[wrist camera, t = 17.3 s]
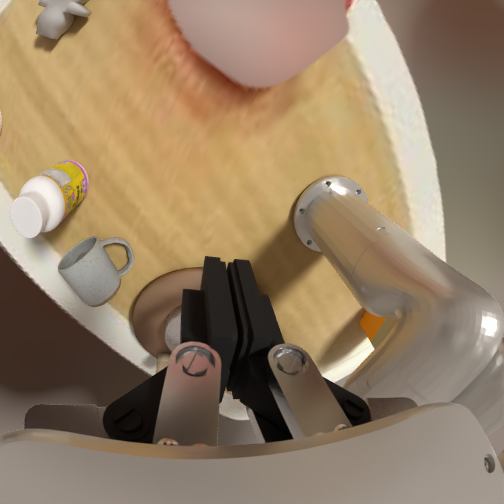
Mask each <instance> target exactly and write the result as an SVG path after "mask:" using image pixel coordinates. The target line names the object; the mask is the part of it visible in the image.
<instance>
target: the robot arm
mask: <svg viewBox="0 0 504 504" xmlns="http://www.w3.org/2000/svg"><path fill="white" fill-rule="evenodd" d="M326 182H327V183H326ZM301 208H302V209H301ZM300 209H301V210H300ZM293 219H294V227H295V231H296V233H297V235H298V237H299V239H300V240H301V241H302V243H303V244H304V245H305V246H307V247H308V248H310V249H311V250H314V251H317V252H322V253H323V254H324V255H325V257H326V258H327V259H328V261H329V262H330V263H331V265H332V266H333V268H334V269H335V270H336V272H337V273H338V274H339V276H340V277H341V279H342V280H343V281H344V283H345V284H346V286H347V287H348V288H349V290H350V291H351V293H352V294H353V296H354V297H355V298H356V300H357V301H358V302H359V304H360V305H361V306H362V307H363V308H364V309H365V310H366V311H368V312H369V313H371V314H373V315H376V316H379V317H384V318H394V319H398V320H397V323H396V324H395V326H394V327H393V329H392V330H391V331H390V332H389V333H388V335H387V337H386V338H385V339H384V340H383V341H382V342H381V343H380V344H379V345H378V346H377V348H376V349H375V350H374V351H373V352H372V353H371V354H370V355H369V356H368V357H367V358H366V359H365V360H364V361H363V362H362V363H361V364H360V366H359V367H358V368H357V369H356V370H355V371H354V372H353V373H352V374H351V375H350V376H349V378H348V379H347V380H346V382H345V384H344V385H343V388H342V387H340V386H338V385H336V384H335V383H333V382H331V381H329V380H328V379H326V378H324V377H322V375H321V373H320V372H319V370H318V368H317V367H316V365H315V363H314V362H313V360H312V358H311V357H310V355H309V354H308V353H307V352H306V351H305V350H303V349H302V348H300V347H298V346H296V345H292V344H285V343H284V340H283V337H282V334H281V331H280V328H279V325H278V323H277V320H276V317H275V314H274V311H273V308H272V305H271V302H270V300H269V297H268V296H267V295H263V294H260V293H259V290H258V287H257V284H256V280H255V277H254V274H253V271H252V268H251V264H250V262H249V260H239V259H234V261H233V263H231V262H229V263H228V267H227V270H226V264H225V262H221V261H220V258H219V257H209V256H205V260H204V266H203V273H202V280H201V287H200V290H194V289H183V293H182V305H181V324H180V345H178V346H177V347H176V348H175V349H174V350H173V351H172V353H171V355H170V359H169V364H168V366H167V367H165V368H164V369H162V370H161V371H159V372H158V373H156V374H155V375H154V376H152V377H151V378H149V379H148V380H146V381H145V382H143V383H142V384H140V385H139V386H137V387H136V388H134V389H133V390H131V391H130V392H128V393H127V394H125V395H124V396H122V397H120V398H119V399H117V400H116V401H114V402H113V403H112V404H111V405H109V406H108V407H96V405H52V404H50V405H49V404H38V405H34V406H32V407H31V408H30V409H29V410H28V411H27V413H26V415H25V419H24V429H20V430H14V431H10V432H6V433H3V434H1V435H0V504H504V450H502V451H501V452H500V453H499V454H498V455H497V456H496V454H495V452H494V450H493V448H492V446H491V444H490V442H489V440H488V438H487V436H488V435H489V434H491V433H492V432H493V431H494V430H496V429H497V428H499V427H500V426H502V427H504V337H503V333H504V315H503V312H502V309H501V307H500V305H499V304H498V302H497V301H496V300H495V299H494V298H493V297H492V295H491V294H490V293H489V292H487V291H486V290H485V289H484V288H483V287H481V286H480V285H478V284H477V283H475V282H474V281H472V280H471V279H469V278H468V277H466V276H465V275H463V274H462V273H460V272H459V271H457V270H455V269H454V268H453V267H451V266H450V265H448V264H447V263H445V262H444V261H443V260H441V259H440V258H438V257H437V256H436V255H435V254H433V253H432V252H431V251H430V250H428V249H427V248H426V247H424V246H423V245H422V244H421V243H419V242H418V241H417V240H416V239H415V238H413V237H412V236H411V235H410V234H408V233H407V232H406V231H405V230H403V229H402V228H401V227H399V226H398V225H397V224H396V223H394V222H393V221H392V220H390V219H389V218H388V217H386V216H385V215H384V214H382V213H381V212H380V211H378V210H377V209H376V208H374V207H373V206H372V205H370V204H369V203H368V199H367V196H366V194H365V192H364V190H363V189H362V187H361V186H360V185H359V184H358V183H356V182H355V181H353V180H352V179H350V178H348V177H344V176H338V175H333V176H326V177H324V178H321V179H319V180H317V181H315V182H314V183H312V184H311V185H310V186H309V187H308V188H306V190H305V191H304V192H303V193H302V195H301V196H300V198H299V200H298V202H297V204H296V207H295V210H294V217H293ZM225 388H227V391H232V395H233V399H240V402H241V403H243V404H244V405H246V410H247V414H248V417H249V419H250V422H251V424H252V427H253V429H254V432H255V434H256V437H257V439H258V442H259V444H249V445H235V446H217V440H218V439H217V437H218V418H219V404H220V403H221V402H222V398H223V395H224V391H225Z"/></svg>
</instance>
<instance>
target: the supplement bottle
mask: <svg viewBox="0 0 504 504" xmlns="http://www.w3.org/2000/svg"><path fill="white" fill-rule="evenodd" d="M88 188H89V179H88V175H87V172H86V170H85V169H84V167H83V166H82V165H81V164H79V163H78V162H76V161H72V160H66V161H62V162H60V163H58V164H56V165H54V166H53V167H51V168H49V169H47V170H46V171H44V172H42V173H40V174H39V175H37V176H35V177H33V178H32V179H30V180H29V181H27V182H26V183H25V185H24V186H23V187H22V189H21V192H20V194H19V197H18V198H17V199H15V201H14V202H13V203H12V206H11V209H10V218H11V222H12V225H13V227H14V228H15V230H16V231H17V232H18V233H19V234H20V235H21V236H23V237H26V238H33V237H36V236H37V235H38V234H39V233H40V232H48V231H51V230H53V229H54V228H56V227H57V226H58V225H59V223H60V222H61V221H62V220H63V219H64V218H65V217H66V216H67V215H68V214H69V213H70V212H71V211H72V210H73V209H74V208H75V207H76V206H77V205H78V204H79V203H80V202H81V201H82V200H83V199H84V198H85V196H86V194H87V192H88Z"/></svg>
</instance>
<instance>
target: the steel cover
mask: <svg viewBox="0 0 504 504" xmlns="http://www.w3.org/2000/svg"><path fill="white" fill-rule="evenodd" d="M181 305H182V304H181ZM181 305H179V306H177V307H176V308H174V309H173V310H172V311H171V312H170V314H169V315H168V317H167V320H166V328H165V342H166V344H167V346H168V348H169V349H170V350H171V351H173V350H174V349H175V348H176V347H177V346H178V345H180V324H181Z"/></svg>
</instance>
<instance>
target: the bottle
mask: <svg viewBox="0 0 504 504" xmlns="http://www.w3.org/2000/svg"><path fill="white" fill-rule="evenodd" d="M1 129H2V115H1V111H0V134H1Z"/></svg>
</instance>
